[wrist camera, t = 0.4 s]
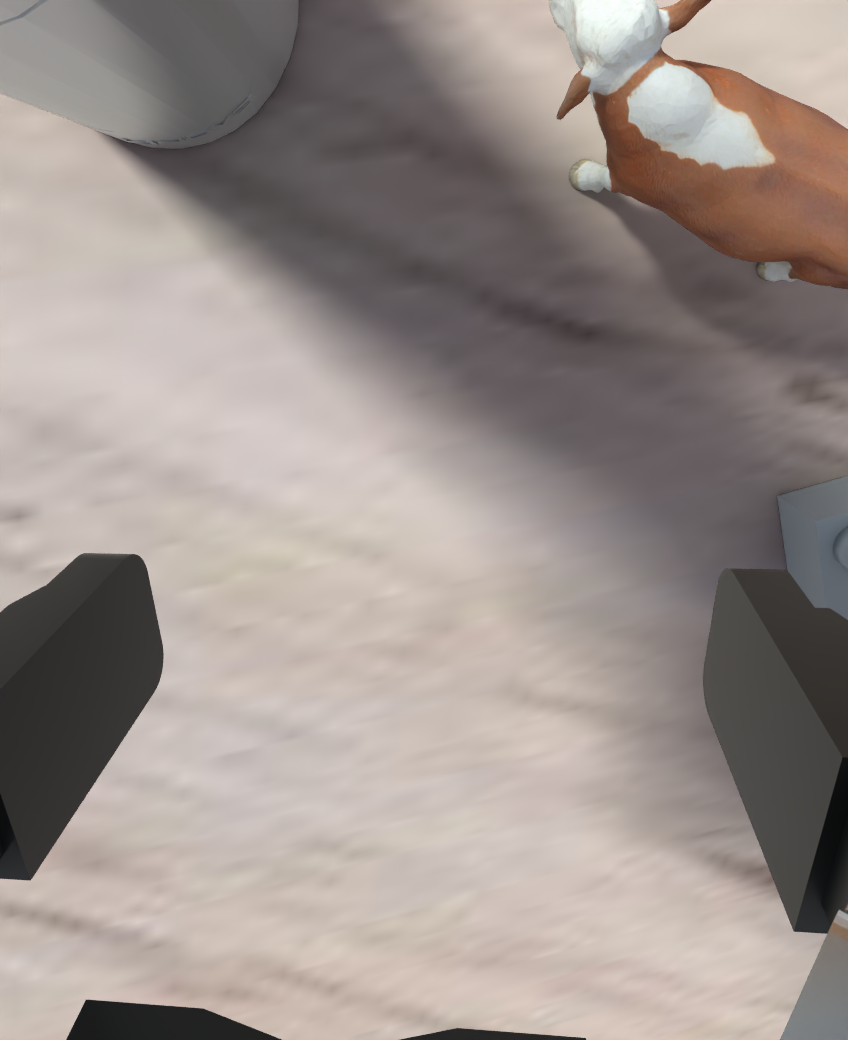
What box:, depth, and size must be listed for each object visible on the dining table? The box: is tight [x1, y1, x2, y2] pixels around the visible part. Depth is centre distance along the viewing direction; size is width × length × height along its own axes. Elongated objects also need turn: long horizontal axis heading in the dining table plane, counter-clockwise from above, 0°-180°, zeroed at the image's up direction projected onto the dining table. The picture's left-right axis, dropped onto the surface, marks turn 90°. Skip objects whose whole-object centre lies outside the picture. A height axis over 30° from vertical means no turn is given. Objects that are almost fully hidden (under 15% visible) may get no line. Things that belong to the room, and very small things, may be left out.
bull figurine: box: [549, 0, 848, 289], centre depth 22 cm, size 4×13×8 cm, turn 62°
